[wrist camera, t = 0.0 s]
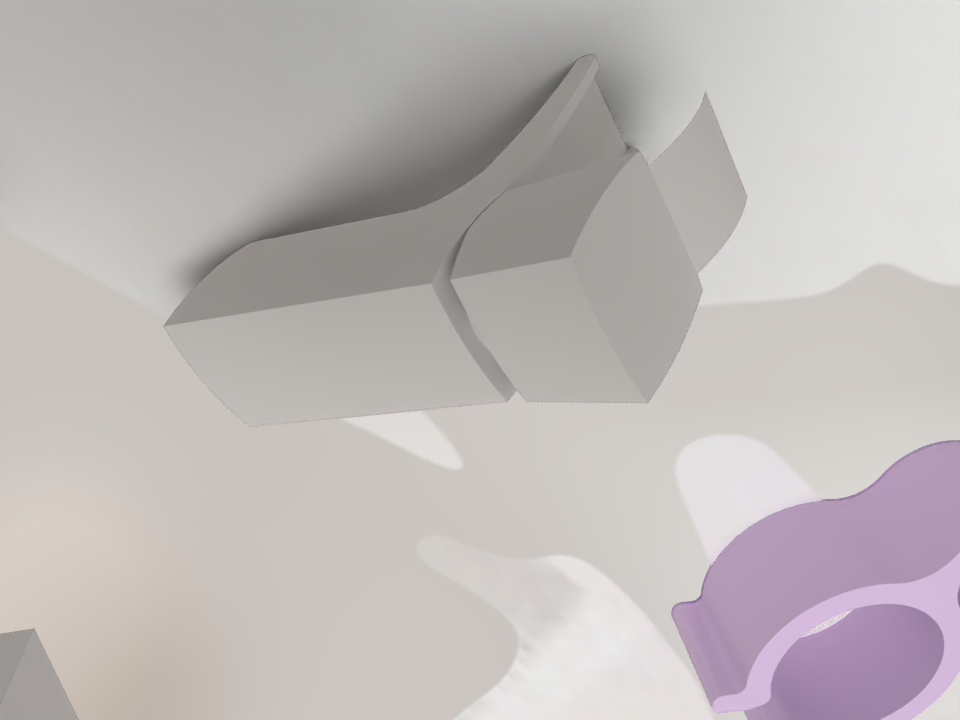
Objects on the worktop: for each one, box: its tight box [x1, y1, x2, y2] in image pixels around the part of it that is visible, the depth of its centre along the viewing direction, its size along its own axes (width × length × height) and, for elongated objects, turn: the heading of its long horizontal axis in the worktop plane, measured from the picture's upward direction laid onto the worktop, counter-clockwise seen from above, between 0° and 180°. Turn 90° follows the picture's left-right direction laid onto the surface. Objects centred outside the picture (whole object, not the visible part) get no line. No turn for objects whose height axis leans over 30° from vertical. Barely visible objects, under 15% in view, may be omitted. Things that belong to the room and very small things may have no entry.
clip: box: [671, 440, 960, 720], centre depth 49 cm, size 20×12×7 cm, turn 128°
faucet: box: [164, 55, 747, 427], centre depth 33 cm, size 6×16×20 cm
